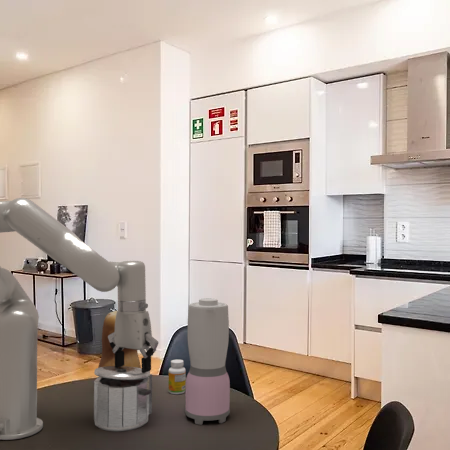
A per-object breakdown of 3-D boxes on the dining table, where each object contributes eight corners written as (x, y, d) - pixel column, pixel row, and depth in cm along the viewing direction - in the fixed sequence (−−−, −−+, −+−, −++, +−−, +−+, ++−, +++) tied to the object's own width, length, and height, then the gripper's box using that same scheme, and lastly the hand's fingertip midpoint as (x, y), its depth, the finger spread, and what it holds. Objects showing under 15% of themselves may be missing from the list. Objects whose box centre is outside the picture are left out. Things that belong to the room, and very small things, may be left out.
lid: (123, 384, 123) (124, 376, 123) (82, 374, 131) (83, 367, 131) (163, 376, 136) (164, 369, 136) (123, 368, 144) (124, 361, 144)
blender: (234, 423, 131) (235, 302, 132) (188, 427, 129) (189, 303, 129) (222, 403, 147) (222, 294, 147) (181, 406, 144) (182, 295, 145)
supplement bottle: (166, 390, 159) (167, 359, 159) (183, 388, 160) (183, 358, 160) (170, 395, 153) (170, 363, 154) (187, 393, 155) (187, 362, 155)
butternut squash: (142, 396, 152) (142, 314, 153) (96, 399, 149) (97, 316, 149) (139, 382, 166) (140, 307, 166) (97, 385, 163) (98, 308, 163)
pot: (129, 437, 122) (129, 392, 122) (77, 422, 131) (78, 380, 132) (168, 417, 136) (169, 376, 136) (119, 404, 145) (120, 366, 145)
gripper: (165, 306, 134) (166, 370, 134) (118, 302, 143) (119, 361, 143) (147, 310, 128) (148, 377, 128) (98, 306, 137) (99, 368, 137)
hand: (132, 369), depth 136 cm, fingers open, 9 cm apart
